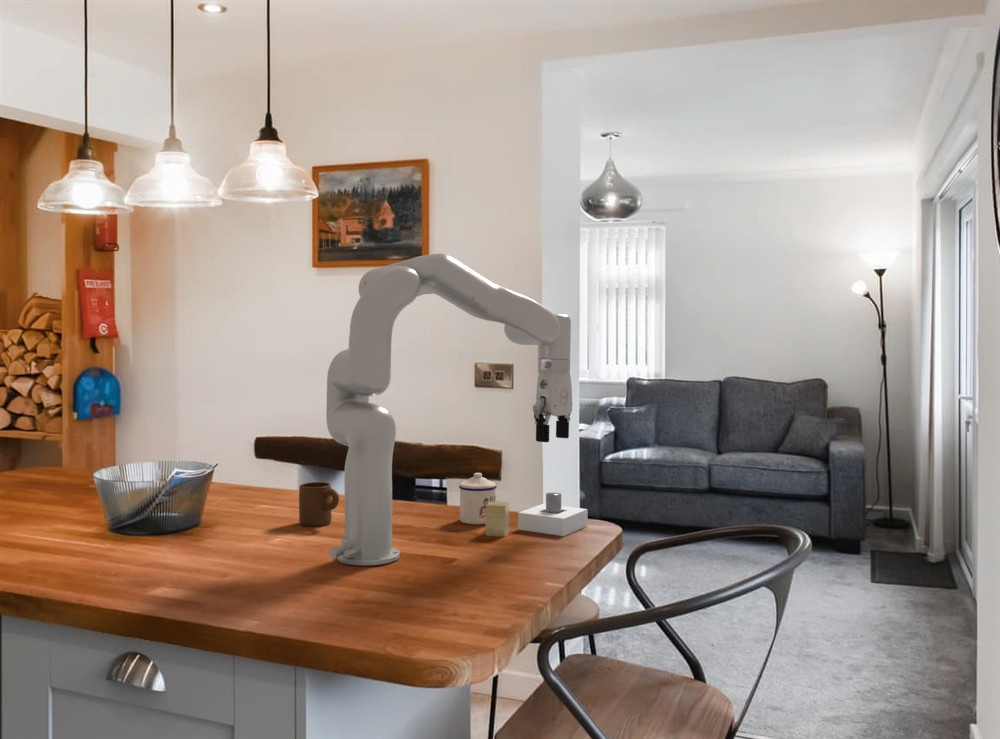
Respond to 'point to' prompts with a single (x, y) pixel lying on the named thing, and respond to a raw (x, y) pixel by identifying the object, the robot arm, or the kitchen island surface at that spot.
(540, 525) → the block
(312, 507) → the mug
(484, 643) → the kitchen island surface
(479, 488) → the teacup with lid
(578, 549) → the kitchen island surface
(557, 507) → the round bit
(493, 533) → the square bit
